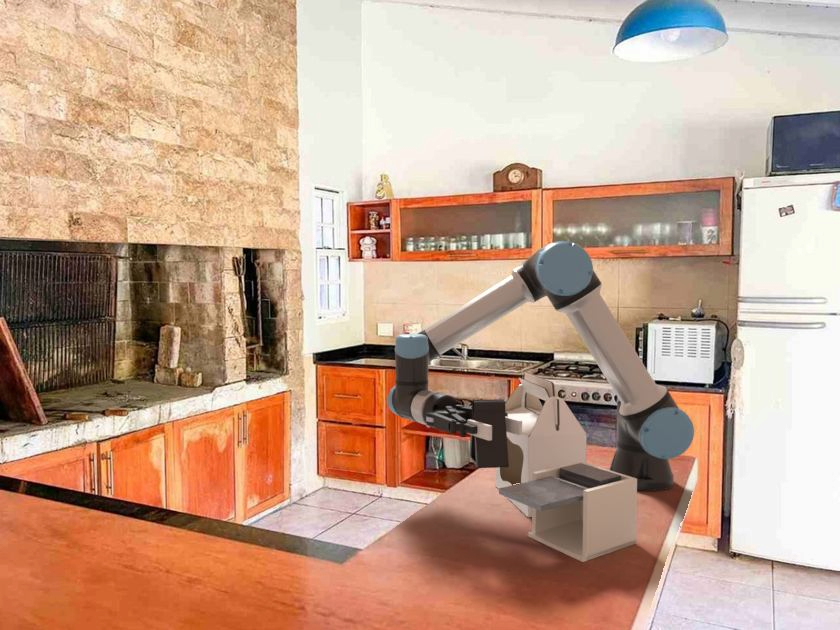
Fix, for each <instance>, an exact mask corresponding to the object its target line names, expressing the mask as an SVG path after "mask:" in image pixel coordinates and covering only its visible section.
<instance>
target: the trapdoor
mask: <svg viewBox="0 0 840 630" xmlns="http://www.w3.org/2000/svg"><path fill="white" fill-rule="evenodd" d="M559 479H562V480H565V481H568V482H571V483H574V484H577V485H580V486H583V487H585V488H588V489H590V488H594V487H598V486H601V485H605V484H609V483H613V482H617V481H621V475H618V474H615V473H612V472H608V471H605V470H602V469H599V468H595V467H592V466H589V465H586V464H582V463H579V464H574V465H570V466H566V467H561V468H560V474H559ZM583 490H586V489H584V488H581V487H578V486H576V485H573V484H570V483H567V482H564V481H561V480H558V479H555V478H552V477H546V478H542V479H537V480H533V481H529V482H525V483H520V484H516V485H512V486H507V487H503V488H499V489H498V494H499V495H501V496H503V497H505V498H507V497H508V498H510V499H513V500H515V501H517V502H520V503H522V504H525V505H527V506H530V507H532V508H534V509H537V510H539V511H544V510H548V509H552V508H555V507H559V506H563V505H566V504H570V503H574V502H577V501H581V500H583ZM508 498H507V499H508Z"/></svg>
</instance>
